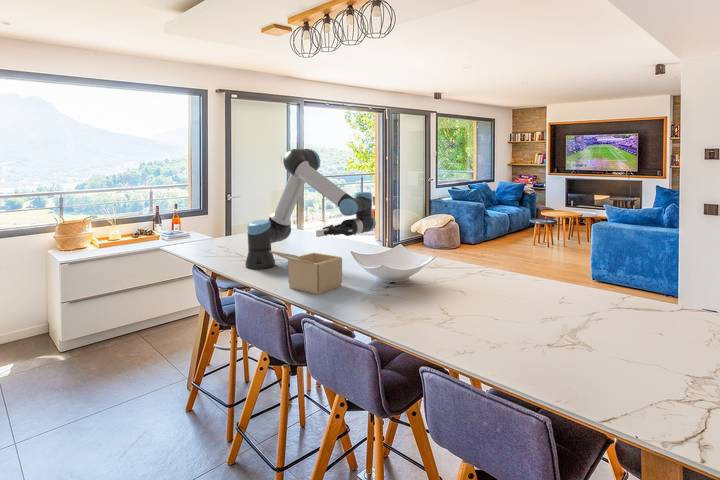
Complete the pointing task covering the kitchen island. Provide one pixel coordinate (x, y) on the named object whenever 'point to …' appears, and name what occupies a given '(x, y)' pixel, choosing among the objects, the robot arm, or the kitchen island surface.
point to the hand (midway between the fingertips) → (317, 233)
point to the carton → (315, 273)
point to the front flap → (291, 257)
